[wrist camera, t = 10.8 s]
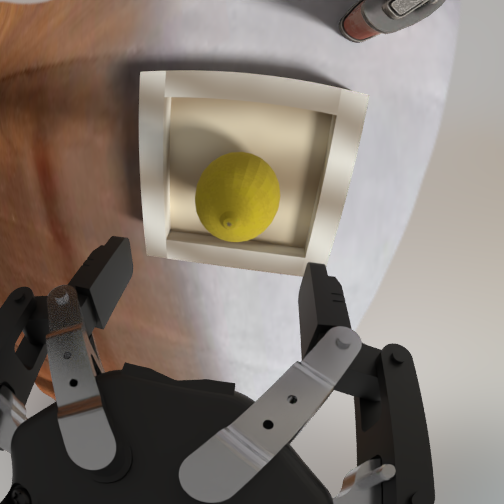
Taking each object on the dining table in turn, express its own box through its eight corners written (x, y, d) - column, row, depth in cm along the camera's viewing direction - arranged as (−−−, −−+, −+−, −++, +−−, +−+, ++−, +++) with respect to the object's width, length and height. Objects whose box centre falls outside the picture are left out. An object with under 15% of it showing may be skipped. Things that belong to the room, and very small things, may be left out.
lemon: (198, 154, 22) (163, 195, 15) (267, 131, 20) (262, 162, 14) (224, 213, 25) (204, 273, 18) (288, 196, 23) (292, 253, 17)
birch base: (166, 70, 21) (140, 71, 17) (350, 90, 21) (369, 95, 17) (165, 225, 30) (146, 255, 26) (316, 245, 30) (322, 278, 26)
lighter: (391, -20, 14) (444, -53, 5) (416, 8, 15) (481, -10, 7) (329, 22, 17) (362, -7, 9) (358, 51, 19) (406, 40, 10)
